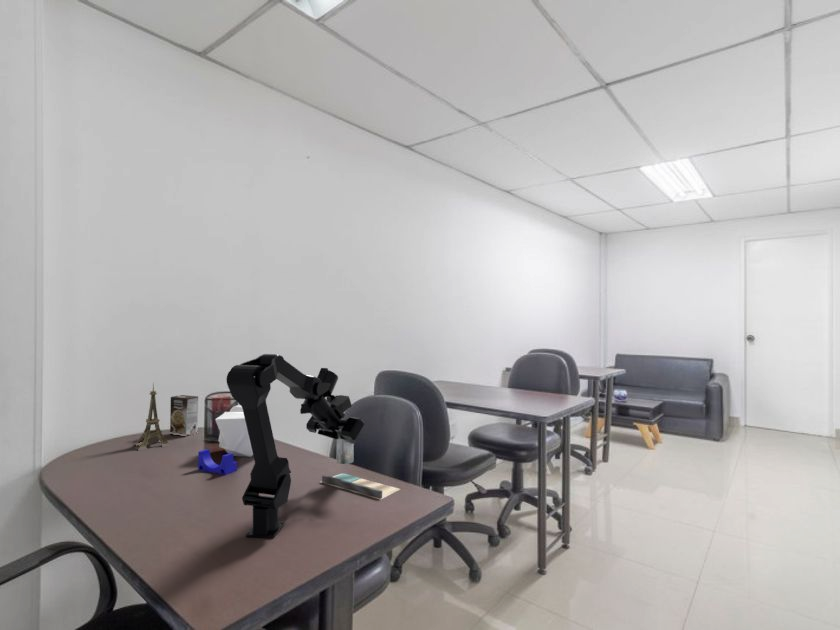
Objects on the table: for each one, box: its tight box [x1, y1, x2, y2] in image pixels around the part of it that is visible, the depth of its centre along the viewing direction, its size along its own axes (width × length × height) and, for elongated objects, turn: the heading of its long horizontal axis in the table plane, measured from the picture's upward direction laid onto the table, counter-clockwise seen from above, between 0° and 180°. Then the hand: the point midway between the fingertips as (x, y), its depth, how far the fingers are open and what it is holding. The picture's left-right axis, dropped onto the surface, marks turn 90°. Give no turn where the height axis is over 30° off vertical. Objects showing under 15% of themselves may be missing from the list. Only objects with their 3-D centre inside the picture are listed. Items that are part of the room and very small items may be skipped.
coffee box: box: [169, 394, 199, 434], centre depth 188 cm, size 9×6×16 cm
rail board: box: [320, 473, 401, 501], centre depth 127 cm, size 23×9×3 cm, turn 56°
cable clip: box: [197, 448, 238, 476], centre depth 143 cm, size 12×4×6 cm, turn 66°
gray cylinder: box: [336, 428, 355, 465], centre depth 133 cm, size 5×5×11 cm
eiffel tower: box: [136, 383, 169, 448], centre depth 171 cm, size 11×11×25 cm
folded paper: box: [215, 404, 253, 458], centre depth 161 cm, size 17×24×17 cm
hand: (348, 441), depth 134 cm, fingers closed on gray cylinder, 5 cm apart
